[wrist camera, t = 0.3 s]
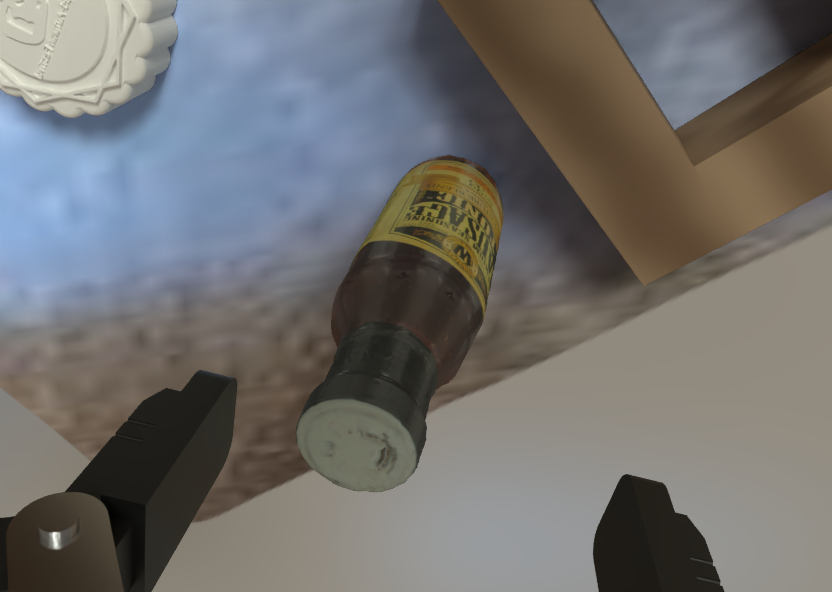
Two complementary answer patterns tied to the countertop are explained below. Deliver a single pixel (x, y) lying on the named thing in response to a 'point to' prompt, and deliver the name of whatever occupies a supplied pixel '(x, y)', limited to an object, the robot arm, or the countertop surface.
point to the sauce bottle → (403, 324)
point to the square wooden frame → (655, 131)
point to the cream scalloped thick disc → (83, 51)
